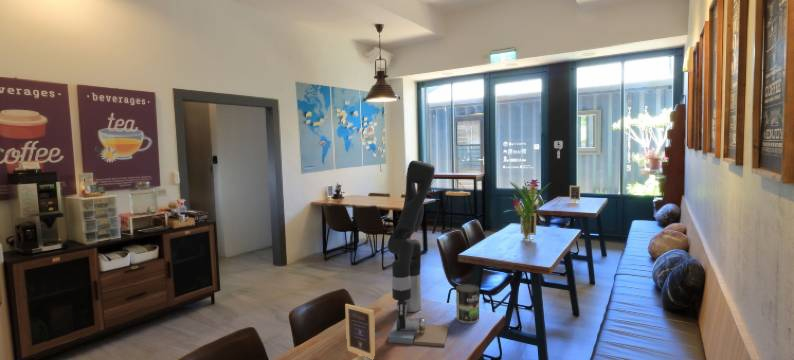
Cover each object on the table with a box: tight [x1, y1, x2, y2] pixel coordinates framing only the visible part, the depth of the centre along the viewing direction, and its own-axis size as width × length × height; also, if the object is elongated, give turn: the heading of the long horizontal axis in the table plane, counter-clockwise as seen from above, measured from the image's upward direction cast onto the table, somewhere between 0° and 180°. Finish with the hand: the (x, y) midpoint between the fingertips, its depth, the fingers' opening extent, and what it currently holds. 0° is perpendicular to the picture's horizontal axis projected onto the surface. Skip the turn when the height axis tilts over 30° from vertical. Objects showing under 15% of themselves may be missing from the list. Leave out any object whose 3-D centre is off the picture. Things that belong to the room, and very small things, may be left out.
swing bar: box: [396, 317, 427, 331], centre depth 172 cm, size 12×3×4 cm, turn 89°
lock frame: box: [387, 319, 449, 348], centre depth 173 cm, size 16×22×5 cm
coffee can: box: [455, 283, 480, 324], centre depth 187 cm, size 10×10×14 cm
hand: (402, 328), depth 169 cm, fingers closed
